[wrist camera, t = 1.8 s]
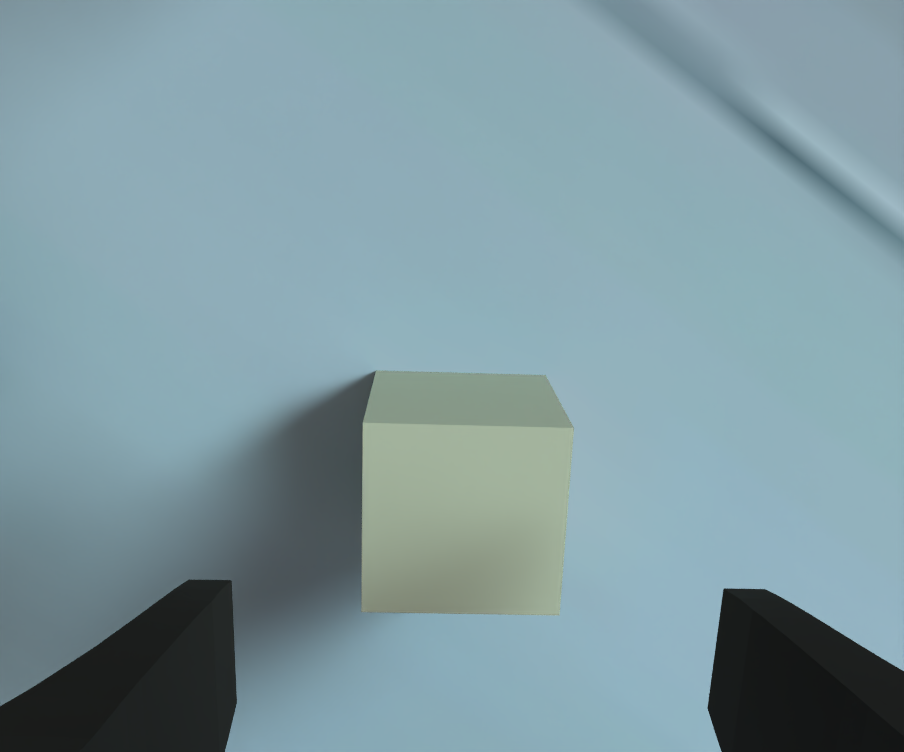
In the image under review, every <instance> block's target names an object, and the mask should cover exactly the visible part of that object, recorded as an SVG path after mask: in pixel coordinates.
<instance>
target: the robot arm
mask: <svg viewBox="0 0 904 752" xmlns="http://www.w3.org/2000/svg"><path fill="white" fill-rule="evenodd" d="M236 704H237V697H236V674H235V651H234V627H233V604H232V581H231V580H188V581H186V582H185V583H183V584H181V585H180V586H178V587H177V588H176V589H174V590H173V591H171V592H170V593H169V594H167V595H166V596H164V597H163V598H162V599H160V600H159V601H158V602H156V603H155V604H154V605H152V606H151V607H149V608H148V609H147V610H145V611H144V612H143V613H141V614H140V615H139V616H137V617H136V618H135V619H133V620H132V621H130V622H129V623H128V624H126V625H125V626H123V627H122V628H121V629H119V630H118V631H116V632H115V633H114V634H112V635H111V636H110V637H108V638H107V639H105V640H104V641H103V642H101V643H100V644H98V645H97V646H96V647H94V648H93V649H91V650H90V651H88V652H86V653H85V654H83V655H82V656H80V657H79V658H77V659H76V660H74V661H73V662H71V663H70V664H68V665H67V666H65V667H63V668H62V669H60V670H59V671H57V672H56V673H54V674H53V675H51V676H50V677H48V678H47V679H45V680H44V681H42V682H40V683H39V684H37V685H36V686H34V687H33V688H31V689H29V690H28V691H26V692H24V693H23V694H21V695H19V696H17V697H16V698H14V699H12V700H10V701H9V702H7V703H5V704H3V705H2V706H0V752H225V748H226V745H227V741H228V737H229V733H230V728H231V724H232V720H233V716H234V712H235V708H236ZM708 711H709V714H710V717H711V720H712V724H713V727H714V730H715V733H716V736H717V739H718V742H719V745H720V748H721V751H722V752H904V671H902V670H901V669H899V668H897V667H895V666H894V665H892V664H890V663H889V662H887V661H885V660H884V659H882V658H880V657H879V656H877V655H875V654H874V653H872V652H870V651H869V650H867V649H865V648H864V647H862V646H860V645H859V644H857V643H856V642H854V641H852V640H851V639H849V638H847V637H846V636H844V635H843V634H841V633H839V632H838V631H836V630H834V629H833V628H831V627H830V626H828V625H826V624H825V623H823V622H822V621H820V620H818V619H817V618H815V617H813V616H812V615H810V614H809V613H807V612H805V611H804V610H802V609H800V608H799V607H797V606H795V605H794V604H792V603H790V602H788V601H787V600H785V599H783V598H781V597H779V596H777V595H776V594H773V593H771V592H769V591H767V590H765V589H724V590H723V597H722V605H721V612H720V620H719V627H718V634H717V642H716V649H715V657H714V664H713V672H712V679H711V687H710V694H709V702H708Z"/></svg>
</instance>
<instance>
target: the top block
mask: <svg viewBox="0 0 904 752" xmlns="http://www.w3.org/2000/svg"><path fill="white" fill-rule="evenodd" d="M573 432H574V427H573V426H572V424H571V422H570V420H569V418H568V416H567V414H566V413H565V411H564V409H563V407H562V405H561V403H560V401H559V399H558V398H557V396H556V394H555V392H554V390H553V388H552V386H551V385H550V383H549V381H548V379H547V377H546V375H520V374H483V373H446V372H410V371H376V373H375V377H374V381H373V385H372V389H371V393H370V396H369V400H368V404H367V408H366V412H365V416H364V420H363V465H362V607H361V612H389V613H448V614H508V615H559V613H560V601H561V588H562V575H563V562H564V549H565V536H566V523H567V510H568V497H569V484H570V471H571V458H572V445H573Z"/></svg>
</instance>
